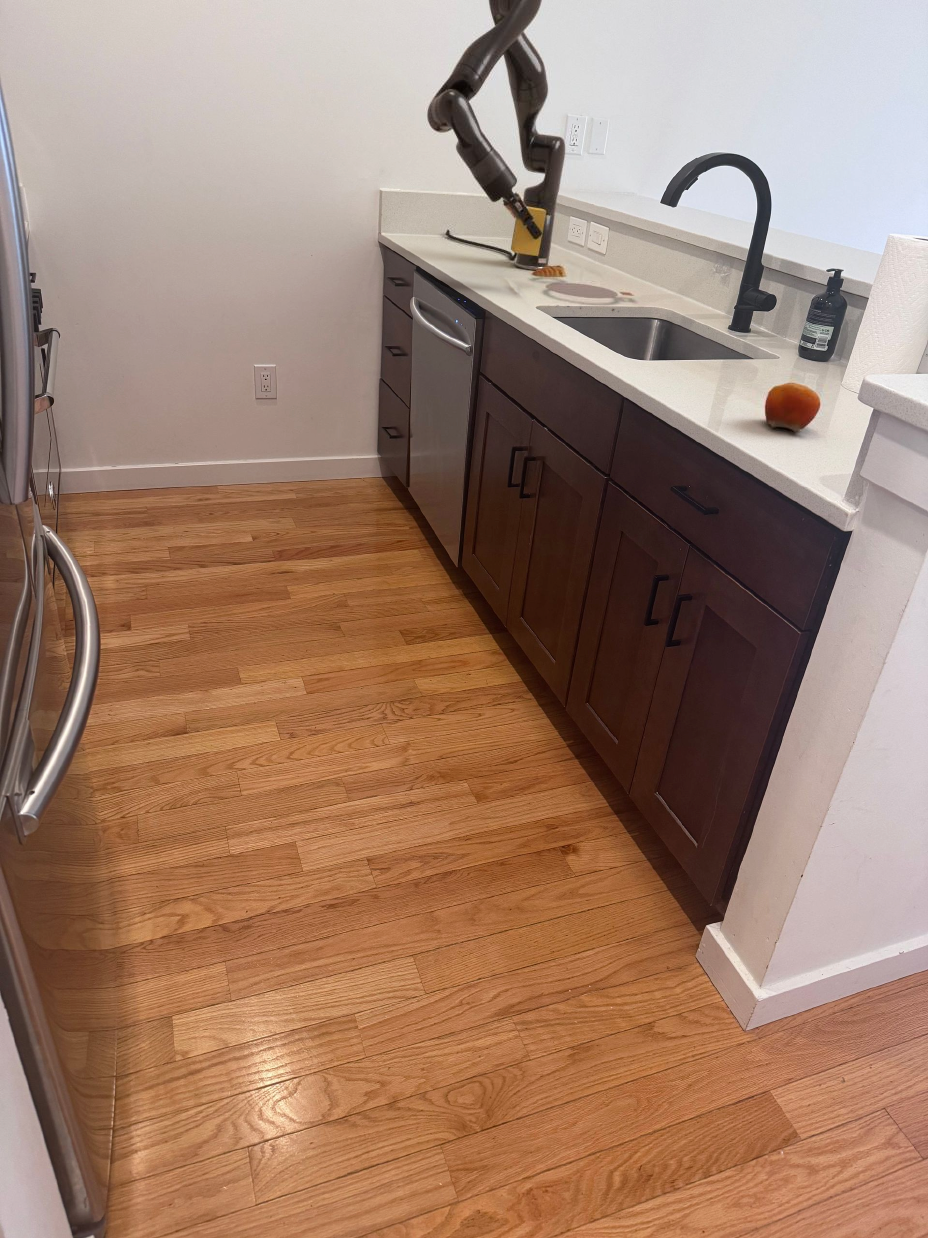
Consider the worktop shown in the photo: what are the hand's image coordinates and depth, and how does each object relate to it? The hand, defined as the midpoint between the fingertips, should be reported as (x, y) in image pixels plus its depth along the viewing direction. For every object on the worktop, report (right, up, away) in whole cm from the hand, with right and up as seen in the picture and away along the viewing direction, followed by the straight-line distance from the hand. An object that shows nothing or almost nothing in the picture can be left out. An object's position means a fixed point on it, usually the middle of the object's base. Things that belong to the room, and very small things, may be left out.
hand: (536, 234), depth 211 cm
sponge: (-3, -4, +2) cm, 5 cm away
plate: (+12, -12, +8) cm, 18 cm away
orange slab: (+23, -12, +10) cm, 28 cm away
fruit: (+33, -62, -73) cm, 101 cm away
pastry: (+5, -2, +23) cm, 24 cm away
